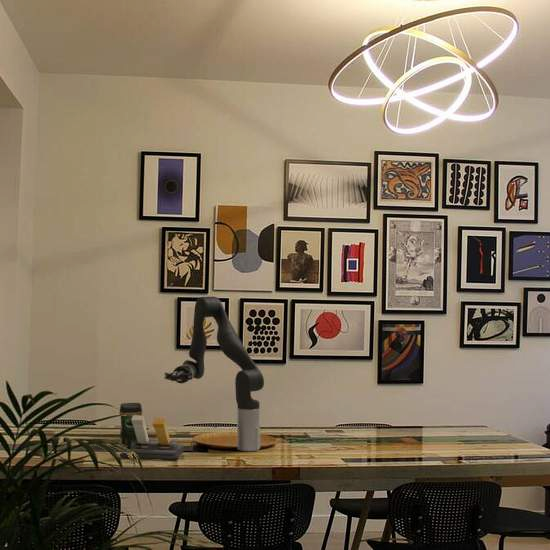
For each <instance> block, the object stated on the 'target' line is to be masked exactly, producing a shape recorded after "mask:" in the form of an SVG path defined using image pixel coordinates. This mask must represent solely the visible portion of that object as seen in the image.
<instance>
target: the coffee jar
mask: <svg viewBox="0 0 550 550" xmlns="http://www.w3.org/2000/svg"><path fill="white" fill-rule="evenodd" d="M119 407H120V408H119V412H118V413H119V416H120V415H126V416H121V417H120V432H119V433H120V434H119V444H120V443H122V444H124V445H126V446H128V447H131V442H133V441H135V440H137V438H136V434H135V430H134V426H133V424H132V421H131V419H132V417H133V415H140V416H143V408H142V404H141V403H140V402H126V403H125V402H123V403H121V404H120V406H119Z"/></svg>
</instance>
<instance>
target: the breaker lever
mask: <svg viewBox="0 0 550 550" xmlns="http://www.w3.org/2000/svg"><path fill="white" fill-rule="evenodd" d="M166 423H167V422H166V419H165V418H153V420H152V427H153V428H154V431H155V435H156V437H157V441H159V447H169V444H170V443H172V441H171V439H170V435H169V432H168V431H169V430H168V428H167V424H166Z"/></svg>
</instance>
